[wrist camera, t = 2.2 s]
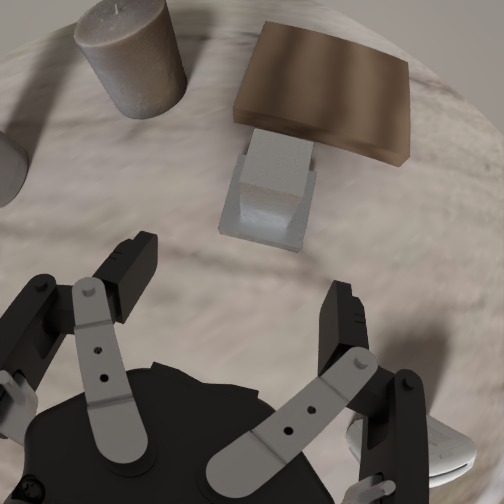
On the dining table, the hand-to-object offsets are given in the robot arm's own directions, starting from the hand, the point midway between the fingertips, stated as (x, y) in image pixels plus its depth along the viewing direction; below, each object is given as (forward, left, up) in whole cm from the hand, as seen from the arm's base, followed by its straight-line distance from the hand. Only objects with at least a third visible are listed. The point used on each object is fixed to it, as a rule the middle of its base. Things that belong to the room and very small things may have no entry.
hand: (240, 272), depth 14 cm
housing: (0, +9, -18) cm, 20 cm away
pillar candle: (-18, +21, -18) cm, 33 cm away
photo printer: (+19, -12, -18) cm, 29 cm away
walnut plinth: (+4, +26, -18) cm, 32 cm away
